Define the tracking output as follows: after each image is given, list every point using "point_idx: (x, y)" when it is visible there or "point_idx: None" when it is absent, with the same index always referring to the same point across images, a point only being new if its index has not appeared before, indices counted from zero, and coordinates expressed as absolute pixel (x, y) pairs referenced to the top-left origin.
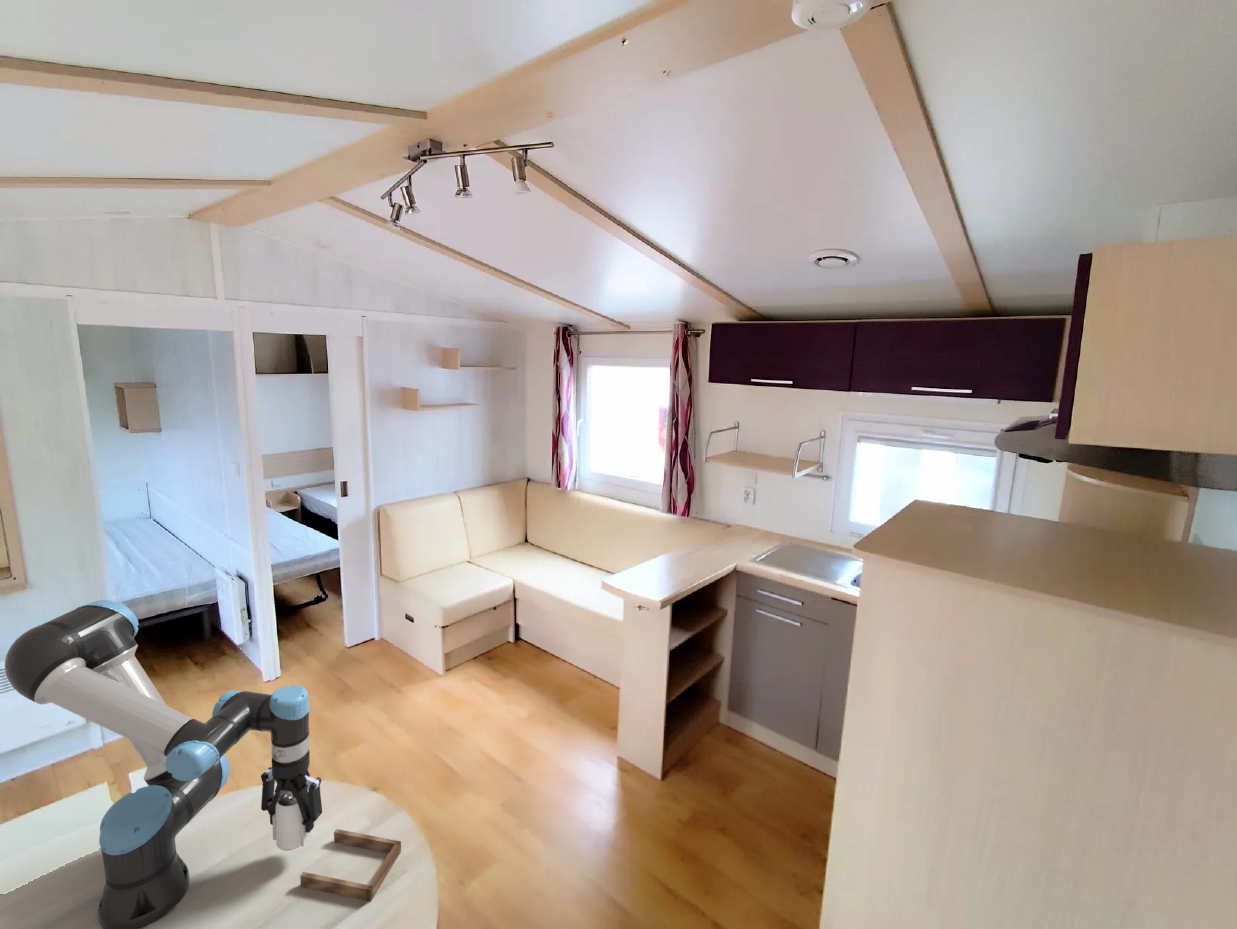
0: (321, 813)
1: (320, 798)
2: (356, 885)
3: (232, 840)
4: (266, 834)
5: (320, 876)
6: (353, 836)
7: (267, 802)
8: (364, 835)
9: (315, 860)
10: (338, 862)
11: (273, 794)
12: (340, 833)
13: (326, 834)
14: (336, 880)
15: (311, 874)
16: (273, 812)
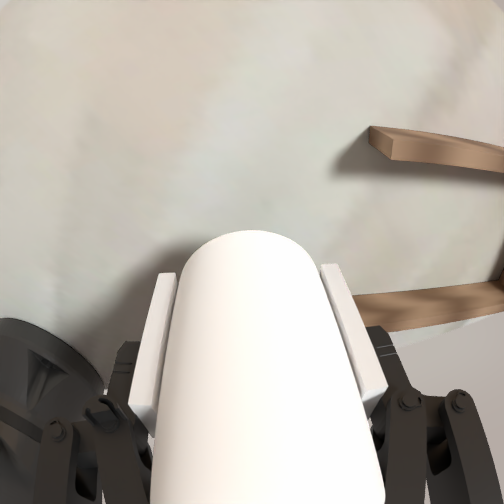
0: (464, 392)
1: (498, 493)
2: (494, 310)
3: (15, 233)
4: (71, 181)
5: (412, 321)
6: (468, 166)
7: (96, 493)
8: (500, 160)
9: (339, 227)
10: (417, 217)
11: (70, 497)
12: (421, 161)
13: (311, 108)
14: (454, 316)
15: (385, 325)
16: (151, 452)
